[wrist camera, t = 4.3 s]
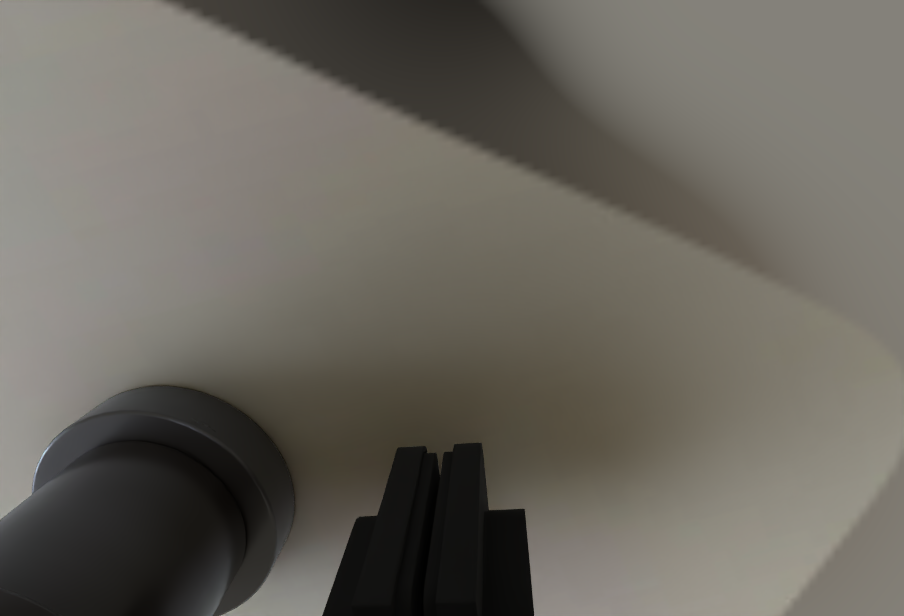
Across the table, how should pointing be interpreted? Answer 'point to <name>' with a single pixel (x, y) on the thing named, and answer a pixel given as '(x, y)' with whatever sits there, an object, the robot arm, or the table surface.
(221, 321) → the table surface
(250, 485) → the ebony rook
